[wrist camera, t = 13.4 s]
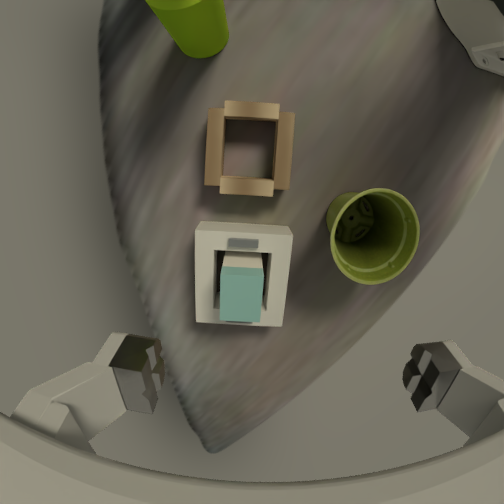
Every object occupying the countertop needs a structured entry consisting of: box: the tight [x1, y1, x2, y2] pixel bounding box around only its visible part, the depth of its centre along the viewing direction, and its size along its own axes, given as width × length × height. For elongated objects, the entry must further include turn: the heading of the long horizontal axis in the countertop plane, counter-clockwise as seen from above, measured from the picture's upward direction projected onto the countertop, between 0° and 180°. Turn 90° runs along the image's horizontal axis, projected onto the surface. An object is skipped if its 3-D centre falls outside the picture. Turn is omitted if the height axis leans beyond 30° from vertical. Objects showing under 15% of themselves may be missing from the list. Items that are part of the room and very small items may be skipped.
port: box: [195, 221, 293, 327], centre depth 33 cm, size 10×11×4 cm
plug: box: [220, 250, 264, 322], centre depth 32 cm, size 4×5×8 cm
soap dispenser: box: [145, 0, 229, 58], centre depth 17 cm, size 6×7×20 cm
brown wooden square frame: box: [204, 101, 295, 197], centre depth 29 cm, size 9×10×3 cm
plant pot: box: [326, 188, 420, 285], centre depth 29 cm, size 9×9×9 cm
